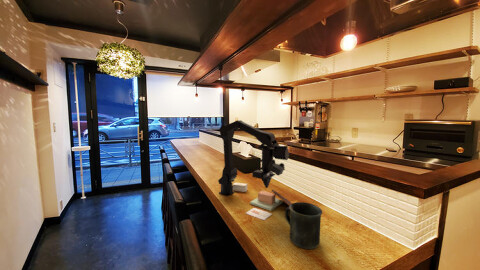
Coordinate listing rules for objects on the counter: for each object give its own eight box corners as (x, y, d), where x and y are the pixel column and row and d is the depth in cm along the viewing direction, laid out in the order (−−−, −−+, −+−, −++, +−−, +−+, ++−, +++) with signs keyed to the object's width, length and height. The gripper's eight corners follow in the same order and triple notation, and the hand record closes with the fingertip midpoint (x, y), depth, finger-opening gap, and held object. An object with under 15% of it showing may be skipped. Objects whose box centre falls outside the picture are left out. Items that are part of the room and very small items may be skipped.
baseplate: (250, 204, 101) (250, 201, 101) (262, 196, 111) (262, 194, 111) (270, 211, 94) (271, 208, 94) (282, 202, 103) (282, 200, 103)
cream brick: (232, 190, 120) (232, 184, 120) (234, 188, 124) (234, 182, 123) (245, 192, 118) (245, 185, 117) (247, 190, 121) (247, 183, 121)
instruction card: (245, 213, 91) (245, 212, 91) (253, 208, 97) (254, 207, 97) (264, 220, 85) (264, 219, 85) (272, 214, 91) (272, 213, 91)
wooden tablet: (315, 222, 82) (300, 207, 80) (312, 226, 82) (297, 212, 79) (284, 197, 108) (272, 186, 105) (281, 200, 107) (269, 189, 105)
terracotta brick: (257, 200, 103) (258, 192, 103) (261, 197, 106) (262, 190, 106) (271, 204, 98) (271, 196, 98) (275, 201, 101) (275, 194, 101)
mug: (307, 255, 64) (309, 219, 63) (275, 233, 76) (276, 203, 75) (327, 243, 70) (329, 210, 69) (294, 225, 82) (295, 196, 81)
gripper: (272, 163, 88) (271, 197, 89) (290, 157, 103) (289, 186, 104) (251, 159, 95) (251, 191, 96) (271, 154, 109) (270, 182, 111)
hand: (266, 187), depth 102 cm, fingers closed
